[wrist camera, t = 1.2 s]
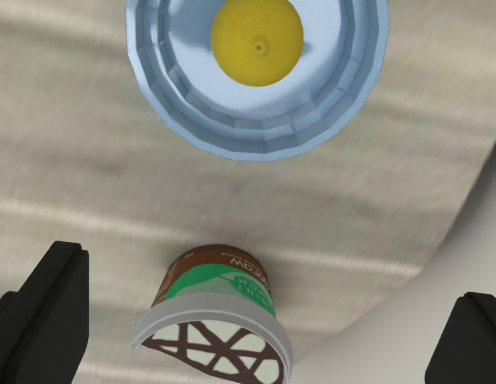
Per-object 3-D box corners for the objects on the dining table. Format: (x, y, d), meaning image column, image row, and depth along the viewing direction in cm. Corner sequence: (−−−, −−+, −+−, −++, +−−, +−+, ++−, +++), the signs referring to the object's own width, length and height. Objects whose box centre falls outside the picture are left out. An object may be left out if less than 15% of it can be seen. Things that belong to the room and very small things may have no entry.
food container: (310, 268, 39) (330, 356, 30) (274, 317, 42) (283, 411, 33) (182, 208, 37) (162, 284, 28) (151, 263, 39) (124, 350, 30)
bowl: (99, 44, 31) (75, 56, 27) (240, -165, 26) (240, -194, 22) (265, 174, 36) (269, 203, 31) (414, 16, 31) (443, 23, 26)
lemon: (303, -7, 30) (322, -1, 22) (287, 78, 32) (300, 108, 25) (219, -21, 29) (212, -19, 22) (209, 66, 32) (199, 93, 24)
